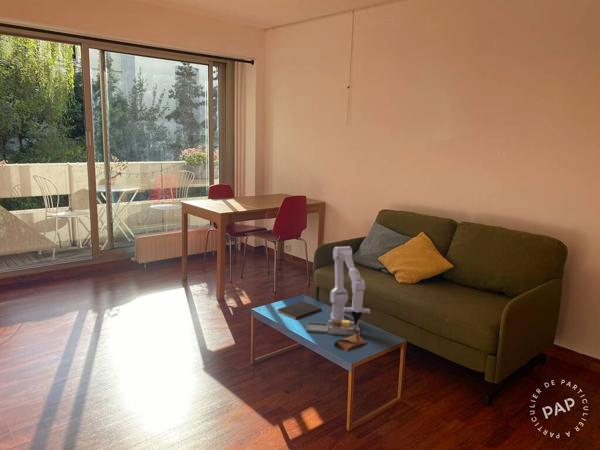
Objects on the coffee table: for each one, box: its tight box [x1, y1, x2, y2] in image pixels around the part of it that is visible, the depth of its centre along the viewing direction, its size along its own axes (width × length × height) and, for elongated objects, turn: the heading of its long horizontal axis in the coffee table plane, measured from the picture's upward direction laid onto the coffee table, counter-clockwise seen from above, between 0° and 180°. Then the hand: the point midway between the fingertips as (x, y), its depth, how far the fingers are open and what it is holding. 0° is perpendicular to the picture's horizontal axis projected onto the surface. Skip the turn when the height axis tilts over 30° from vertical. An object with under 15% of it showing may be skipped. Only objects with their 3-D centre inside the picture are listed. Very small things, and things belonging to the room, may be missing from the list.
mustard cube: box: [342, 319, 350, 327], centre depth 264 cm, size 4×4×4 cm
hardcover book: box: [276, 300, 322, 321], centre depth 290 cm, size 16×23×2 cm
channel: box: [327, 318, 361, 336], centre depth 265 cm, size 12×17×4 cm
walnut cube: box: [332, 319, 341, 326], centre depth 264 cm, size 4×4×4 cm
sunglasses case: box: [334, 333, 368, 352], centre depth 247 cm, size 18×7×7 cm, turn 133°
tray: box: [305, 321, 329, 334], centre depth 265 cm, size 11×12×1 cm
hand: (355, 324), depth 264 cm, fingers closed
